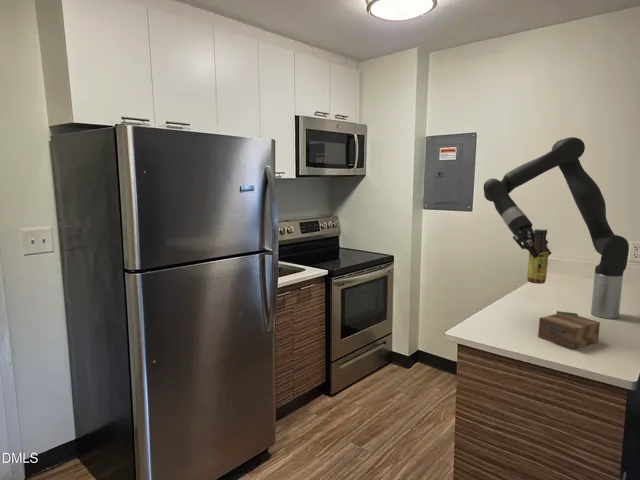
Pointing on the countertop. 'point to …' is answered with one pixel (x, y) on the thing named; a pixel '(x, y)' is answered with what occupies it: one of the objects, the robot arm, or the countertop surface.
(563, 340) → the walnut box
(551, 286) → the countertop surface
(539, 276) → the sauce bottle
